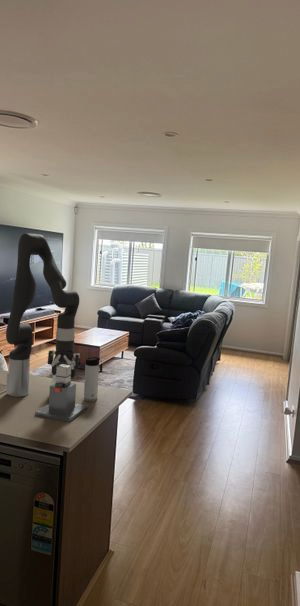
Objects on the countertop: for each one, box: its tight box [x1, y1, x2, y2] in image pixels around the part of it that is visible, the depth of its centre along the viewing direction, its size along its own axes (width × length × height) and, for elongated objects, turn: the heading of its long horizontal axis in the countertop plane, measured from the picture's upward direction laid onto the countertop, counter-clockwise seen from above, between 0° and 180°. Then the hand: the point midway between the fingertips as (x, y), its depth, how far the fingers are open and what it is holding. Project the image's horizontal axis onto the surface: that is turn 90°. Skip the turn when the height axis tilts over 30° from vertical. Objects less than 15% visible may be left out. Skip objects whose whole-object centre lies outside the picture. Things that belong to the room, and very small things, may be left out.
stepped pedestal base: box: [34, 382, 88, 423], centre depth 175 cm, size 16×16×13 cm
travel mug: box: [83, 356, 101, 402], centre depth 192 cm, size 6×7×20 cm
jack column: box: [56, 364, 72, 387], centre depth 174 cm, size 5×5×18 cm
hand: (63, 376), depth 174 cm, fingers open, 8 cm apart
